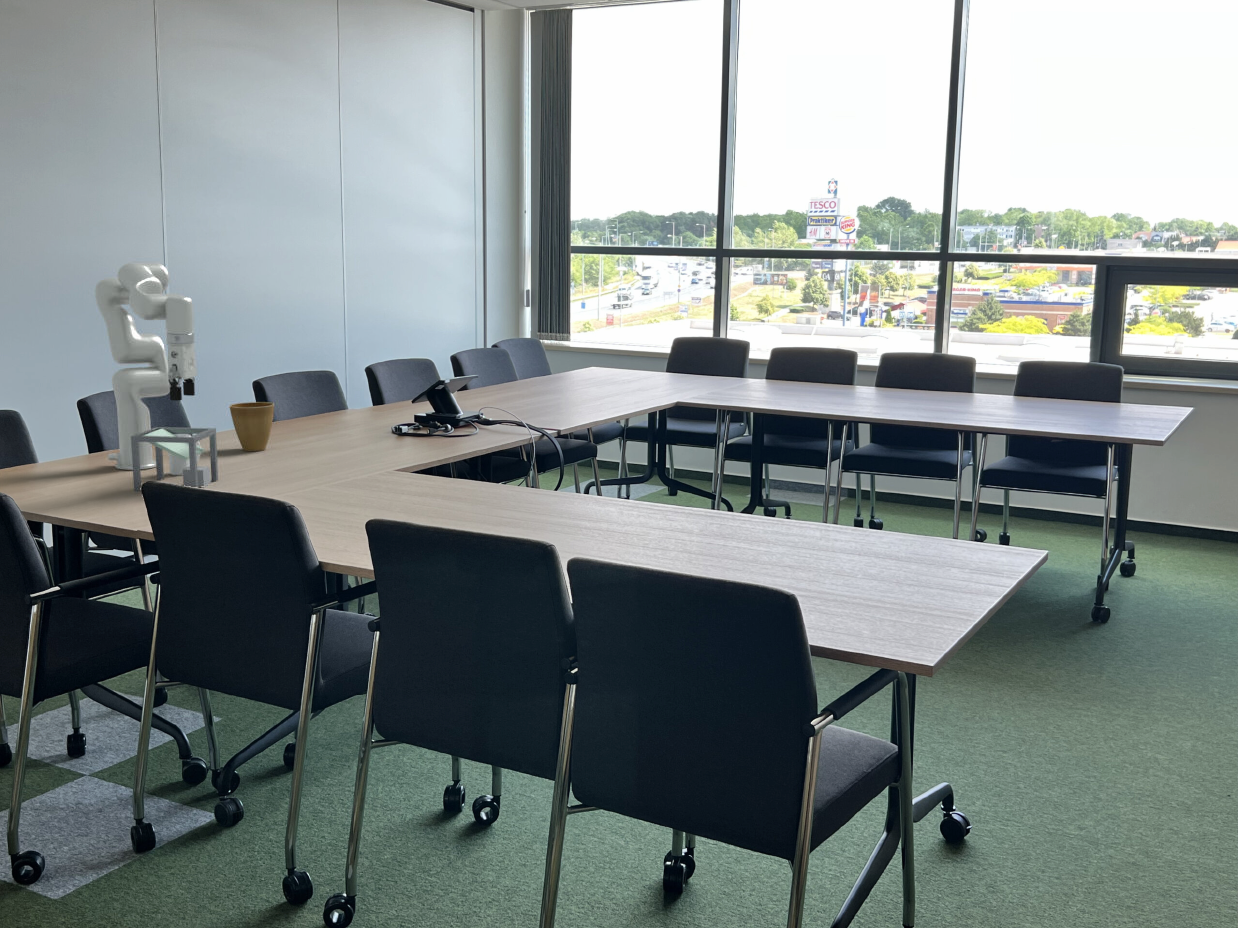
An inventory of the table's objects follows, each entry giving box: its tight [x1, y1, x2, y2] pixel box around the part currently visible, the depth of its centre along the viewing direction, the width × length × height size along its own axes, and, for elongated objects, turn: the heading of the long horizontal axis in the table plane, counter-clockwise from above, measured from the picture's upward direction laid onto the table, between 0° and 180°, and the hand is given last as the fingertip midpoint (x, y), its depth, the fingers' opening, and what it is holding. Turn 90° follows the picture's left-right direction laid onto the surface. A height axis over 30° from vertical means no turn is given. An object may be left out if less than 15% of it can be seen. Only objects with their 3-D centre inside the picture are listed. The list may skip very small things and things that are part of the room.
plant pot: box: [229, 401, 275, 452], centre depth 399 cm, size 15×15×16 cm
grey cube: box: [182, 465, 212, 489], centre depth 339 cm, size 6×6×6 cm
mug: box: [168, 433, 202, 476], centre depth 357 cm, size 10×7×12 cm, turn 131°
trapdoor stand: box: [131, 426, 219, 492], centre depth 338 cm, size 18×18×16 cm
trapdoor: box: [143, 429, 206, 461], centre depth 337 cm, size 14×14×1 cm
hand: (182, 397), depth 335 cm, fingers open, 9 cm apart
